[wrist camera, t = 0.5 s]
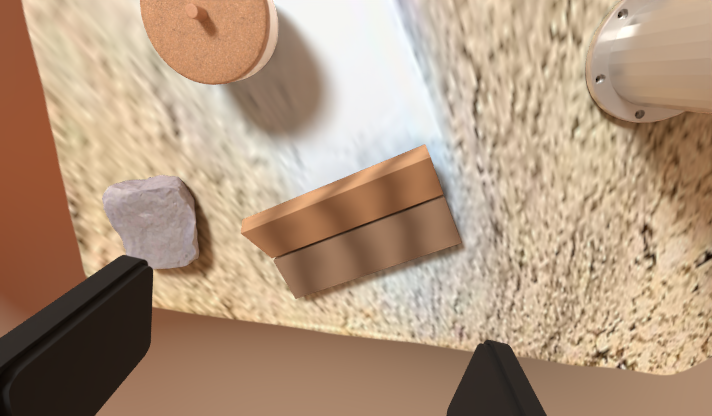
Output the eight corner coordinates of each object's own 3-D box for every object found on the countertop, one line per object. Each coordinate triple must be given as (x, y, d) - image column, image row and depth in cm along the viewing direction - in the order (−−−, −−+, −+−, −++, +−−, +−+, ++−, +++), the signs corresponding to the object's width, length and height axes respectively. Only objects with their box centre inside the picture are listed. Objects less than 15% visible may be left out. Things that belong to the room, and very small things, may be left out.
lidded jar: (313, 40, 35) (287, 28, 26) (238, 103, 37) (192, 111, 29) (243, -62, 32) (190, -114, 23) (169, 15, 35) (96, -7, 26)
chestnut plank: (425, 144, 34) (430, 157, 33) (438, 181, 38) (443, 194, 37) (242, 219, 39) (240, 233, 38) (272, 245, 43) (272, 258, 42)
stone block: (192, 167, 43) (111, 179, 42) (178, 178, 38) (87, 192, 38) (219, 249, 47) (146, 261, 47) (209, 267, 43) (128, 281, 42)
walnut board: (441, 191, 39) (444, 197, 37) (458, 235, 41) (461, 242, 39) (278, 253, 44) (273, 260, 42) (299, 289, 46) (295, 298, 44)
